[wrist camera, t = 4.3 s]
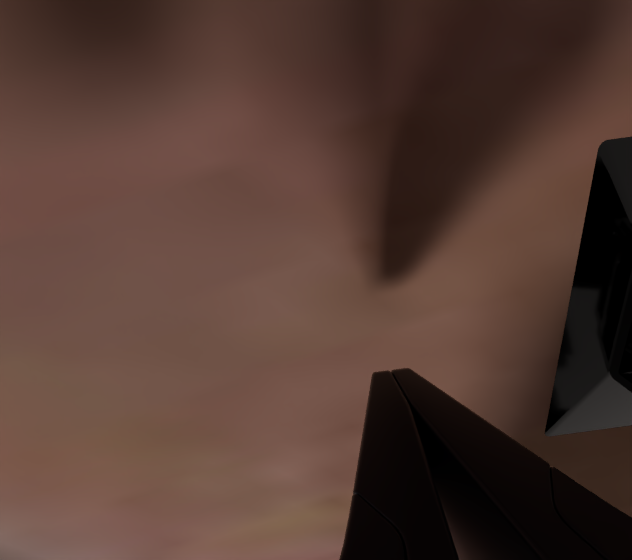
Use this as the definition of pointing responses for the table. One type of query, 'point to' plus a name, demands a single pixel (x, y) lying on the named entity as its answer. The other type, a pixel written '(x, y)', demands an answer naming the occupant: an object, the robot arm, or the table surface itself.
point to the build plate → (599, 307)
